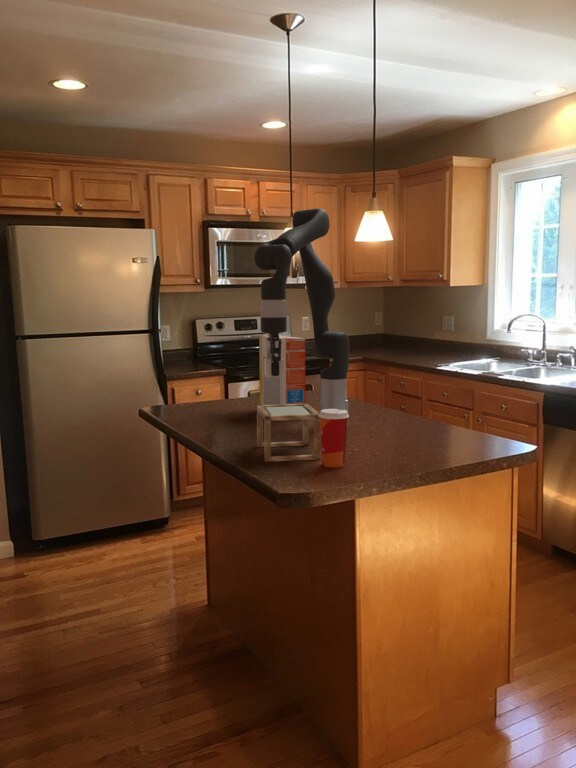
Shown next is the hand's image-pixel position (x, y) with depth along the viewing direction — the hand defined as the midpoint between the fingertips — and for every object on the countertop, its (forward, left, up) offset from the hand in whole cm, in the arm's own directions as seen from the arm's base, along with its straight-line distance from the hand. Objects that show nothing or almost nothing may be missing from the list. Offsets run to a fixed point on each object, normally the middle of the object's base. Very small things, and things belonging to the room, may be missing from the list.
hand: (274, 374), depth 188 cm
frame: (-4, +1, -23) cm, 24 cm away
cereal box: (-12, -60, -23) cm, 66 cm away
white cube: (0, 0, 0) cm, 1 cm away
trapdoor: (-4, +1, -12) cm, 12 cm away
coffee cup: (-14, +17, -23) cm, 32 cm away
